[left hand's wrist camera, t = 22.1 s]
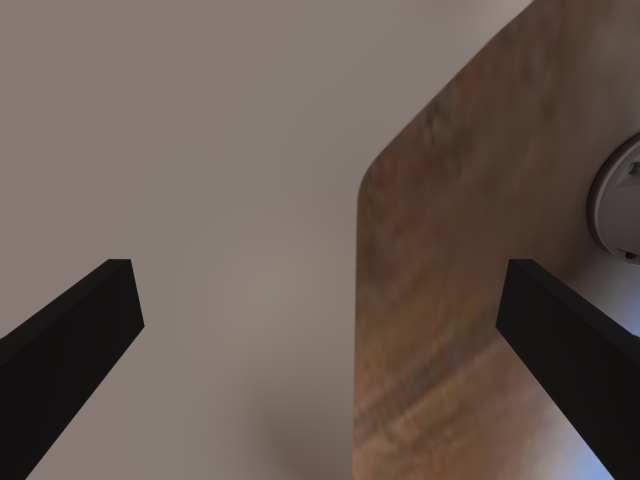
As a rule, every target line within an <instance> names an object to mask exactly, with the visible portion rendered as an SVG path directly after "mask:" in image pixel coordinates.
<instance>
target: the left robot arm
mask: <svg viewBox="0 0 640 480" xmlns="http://www.w3.org/2000/svg"><path fill="white" fill-rule="evenodd" d="M587 220H588V225H589V228H590V231H591V233H592V236H593V237H594V239H595V240H596V242H597V243H598V244H599V245H600V246H601V247H602V248H603V249H605V250H606V251H607V252H609V253H611V254H613V255H615V256H617V257H619V258H621V259H622V260H624V261H627V262H630V263H633V264H638V265H640V134H638V135H636V136H635V137H633V138H632V139H630V140H629V141H628V142H626V143H625V144H624V145H623V146H621V147H620V148H619V149H618V150H617V151H616V152H615V153H614V154H613V155H612V156H611V157H610V159H609V160H608V161H607V162H606V164H605V165H604V166H603V168H602V169H601V171H600V172H599V174H598V176H597V178H596V179H595V181H594V184H593V186H592V189H591V192H590V195H589V199H588V205H587ZM495 327H496V328H497V329H498V331H499V332H500V333H501V334H502V336H503V337H504V338H505V340H506V341H507V342H508V343H509V345H510V346H511V347H512V349H513V350H514V351H515V352H516V354H517V355H518V356H519V357H520V359H521V360H522V361H523V363H524V364H525V365H526V366H527V368H528V369H529V370H530V372H531V373H532V374H533V375H534V377H535V378H536V379H537V381H538V382H539V383H540V384H541V386H542V387H543V388H544V390H545V391H546V392H547V393H548V395H549V396H550V397H551V399H552V400H553V401H554V402H555V404H556V405H557V406H558V408H559V409H560V410H561V411H562V413H563V414H564V415H565V416H566V418H567V419H568V420H569V422H570V423H571V424H572V425H573V427H574V428H575V429H576V431H577V432H578V433H579V434H580V436H581V437H582V438H583V440H584V441H585V442H586V443H587V445H588V446H589V447H590V449H591V450H592V451H593V452H594V454H595V455H596V456H597V458H598V459H599V460H600V461H601V463H602V464H603V465H604V466H605V468H606V469H607V470H608V472H609V473H610V474H611V475H612V477H613V478H614V479H615V480H640V337H638V336H636V335H632V334H631V333H630V332H628V331H627V330H626V329H624V328H623V327H622V326H620V325H619V324H618V323H616V322H615V321H614V320H612V319H611V318H610V317H608V316H607V315H606V314H604V313H603V312H602V311H600V310H599V309H598V308H596V307H595V306H594V305H592V304H591V303H590V302H588V301H587V300H586V299H584V298H583V297H581V296H580V295H579V294H577V293H576V292H575V291H573V290H572V289H571V288H569V287H568V286H567V285H565V284H564V283H563V282H561V281H560V280H559V279H557V278H556V277H555V276H553V275H552V274H551V273H549V272H548V271H547V270H545V269H544V268H543V267H541V266H540V265H539V264H537V263H536V262H535V261H533V260H532V259H509V263H508V268H507V273H506V278H505V283H504V287H503V292H502V297H501V302H500V307H499V311H498V316H497V321H496V326H495ZM143 328H144V321H143V317H142V311H141V307H140V302H139V297H138V292H137V287H136V283H135V278H134V273H133V268H132V263H131V259H108V260H107V261H105V262H104V263H103V264H101V265H100V266H99V267H97V268H96V269H95V270H93V271H92V272H91V273H89V274H88V275H87V276H85V277H84V278H83V279H81V280H80V281H79V282H77V283H76V284H75V285H73V286H72V287H71V288H69V289H68V290H67V291H65V292H64V293H63V294H61V295H60V296H59V297H57V298H56V299H55V300H53V301H52V302H51V303H49V304H48V305H46V306H45V307H44V308H42V309H41V310H40V311H38V312H37V313H36V314H34V315H33V316H32V317H30V318H29V319H28V320H26V321H25V322H24V323H22V324H21V325H20V326H18V327H17V328H16V329H14V330H13V331H12V332H10V333H9V334H8V335H6V336H5V337H3V338H1V339H0V480H25V479H26V478H27V477H28V475H29V474H30V473H31V472H32V470H33V469H34V468H35V466H36V465H37V464H38V463H39V461H40V460H41V459H42V458H43V456H44V455H45V454H46V452H47V451H48V450H49V449H50V447H51V446H52V445H53V443H54V442H55V441H56V440H57V438H58V437H59V436H60V434H61V433H62V432H63V431H64V429H65V428H66V427H67V425H68V424H69V423H70V422H71V420H72V419H73V418H74V416H75V415H76V414H77V413H78V411H79V410H80V409H81V407H82V406H83V405H84V404H85V402H86V401H87V400H88V399H89V397H90V396H91V395H92V393H93V392H94V391H95V390H96V388H97V387H98V386H99V384H100V383H101V382H102V381H103V379H104V378H105V377H106V375H107V374H108V373H109V372H110V370H111V369H112V368H113V366H114V365H115V364H116V363H117V361H118V360H119V359H120V357H121V356H122V355H123V354H124V352H125V351H126V350H127V348H128V347H129V346H130V345H131V343H132V342H133V341H134V339H135V338H136V337H137V336H138V334H139V333H140V332H141V331H142V329H143Z"/></svg>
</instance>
